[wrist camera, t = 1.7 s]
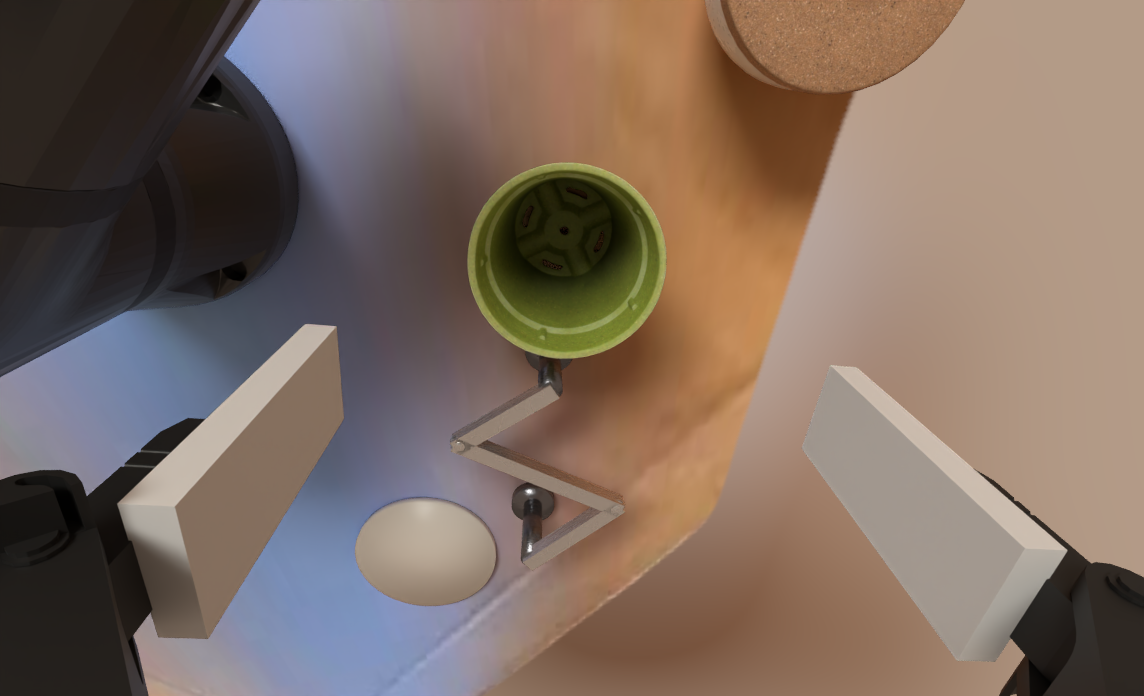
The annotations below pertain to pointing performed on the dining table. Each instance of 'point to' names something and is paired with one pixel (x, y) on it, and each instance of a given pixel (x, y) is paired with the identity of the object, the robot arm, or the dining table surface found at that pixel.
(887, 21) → the lidded jar
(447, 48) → the dining table surface
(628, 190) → the plant pot
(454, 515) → the pad
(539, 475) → the zigzag bar on posts
